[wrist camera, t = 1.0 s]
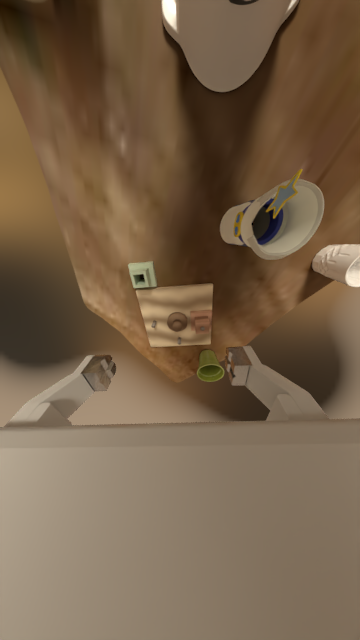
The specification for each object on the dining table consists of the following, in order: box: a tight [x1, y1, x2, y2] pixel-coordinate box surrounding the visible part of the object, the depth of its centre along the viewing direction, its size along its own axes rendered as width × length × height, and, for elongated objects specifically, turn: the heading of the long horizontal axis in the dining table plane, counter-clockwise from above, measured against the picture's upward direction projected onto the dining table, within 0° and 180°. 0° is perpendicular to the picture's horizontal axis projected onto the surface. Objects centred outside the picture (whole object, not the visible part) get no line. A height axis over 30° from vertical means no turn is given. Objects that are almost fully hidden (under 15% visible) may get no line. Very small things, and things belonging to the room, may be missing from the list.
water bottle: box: [220, 169, 324, 260], centre depth 22 cm, size 8×9×25 cm
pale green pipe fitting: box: [128, 261, 157, 288], centre depth 37 cm, size 6×6×5 cm
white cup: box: [312, 245, 360, 287], centre depth 32 cm, size 8×8×10 cm
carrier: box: [136, 283, 213, 347], centre depth 44 cm, size 22×22×7 cm
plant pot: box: [197, 350, 224, 382], centre depth 52 cm, size 9×9×9 cm
